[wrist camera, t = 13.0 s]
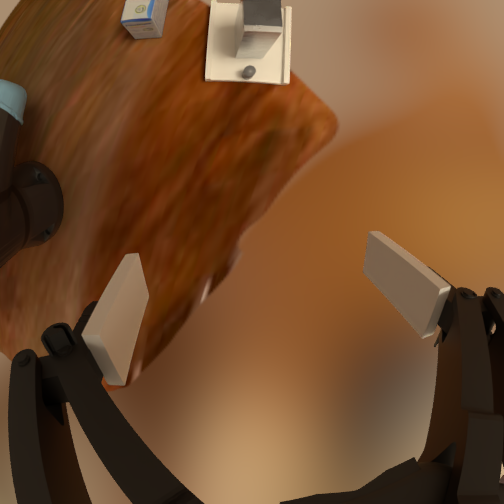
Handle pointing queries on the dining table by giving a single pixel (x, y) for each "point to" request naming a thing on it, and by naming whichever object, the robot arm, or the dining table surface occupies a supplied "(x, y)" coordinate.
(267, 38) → the block
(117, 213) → the dining table surface
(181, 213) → the dining table surface
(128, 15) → the medicine box
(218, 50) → the tray
